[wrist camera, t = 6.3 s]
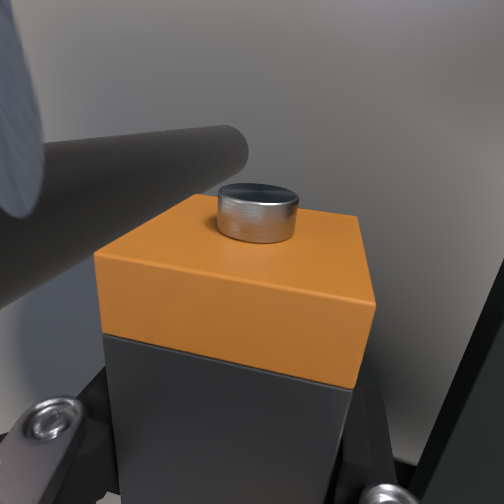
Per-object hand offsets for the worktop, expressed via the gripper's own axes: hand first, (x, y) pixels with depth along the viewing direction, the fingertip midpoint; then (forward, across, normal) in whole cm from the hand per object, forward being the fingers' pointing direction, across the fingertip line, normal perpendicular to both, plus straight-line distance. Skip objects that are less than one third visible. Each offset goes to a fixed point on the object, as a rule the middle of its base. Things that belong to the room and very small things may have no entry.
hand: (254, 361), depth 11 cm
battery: (0, 0, 0) cm, 0 cm away
